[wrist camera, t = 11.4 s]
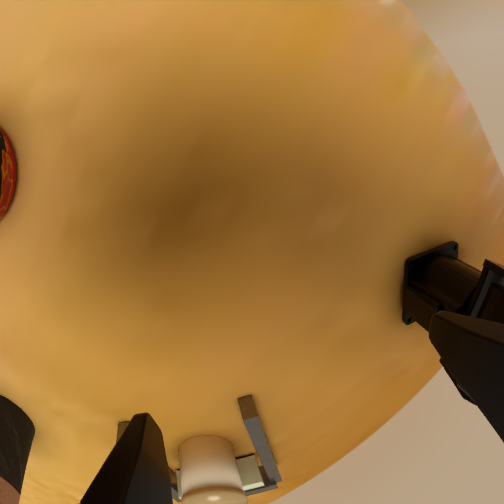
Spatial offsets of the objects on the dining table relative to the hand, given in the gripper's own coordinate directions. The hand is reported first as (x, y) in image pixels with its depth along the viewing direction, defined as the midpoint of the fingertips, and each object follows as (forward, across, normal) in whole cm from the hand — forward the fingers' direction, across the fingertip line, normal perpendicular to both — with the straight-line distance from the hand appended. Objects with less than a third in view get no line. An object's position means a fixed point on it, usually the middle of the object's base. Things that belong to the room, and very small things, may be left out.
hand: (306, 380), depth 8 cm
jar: (+12, +8, +20) cm, 24 cm away
